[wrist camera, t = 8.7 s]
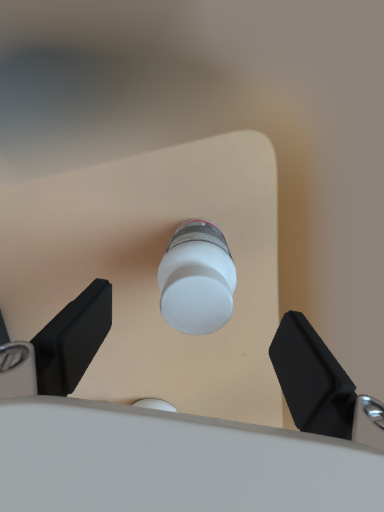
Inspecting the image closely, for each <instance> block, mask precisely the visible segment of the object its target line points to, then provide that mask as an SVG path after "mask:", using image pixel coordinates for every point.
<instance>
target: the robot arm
mask: <svg viewBox="0 0 384 512" xmlns="http://www.w3.org/2000/svg"><path fill="white" fill-rule="evenodd" d="M111 325H112V284H111V283H109V281H108V280H105V279H99V278H96V279H95V280H94V281H93V282H92V283H91V284H90V285H89V286H88V287H87V288H86V289H85V290H84V291H83V292H82V293H81V294H80V295H79V296H78V297H77V298H76V299H75V300H74V301H71V302H70V303H69V304H68V305H67V306H66V307H65V308H63V309H62V310H61V311H60V312H59V313H58V314H57V315H56V316H55V317H54V318H53V319H52V320H51V321H50V322H49V323H48V324H47V325H46V326H45V327H44V328H43V329H42V330H41V331H40V332H39V333H38V334H37V335H36V336H35V337H34V338H33V339H32V340H31V341H30V342H27V341H14V342H9V343H6V344H4V345H1V346H0V512H384V404H383V403H382V402H381V401H379V400H377V399H375V398H373V397H371V396H368V395H363V394H362V395H358V396H357V394H356V393H355V389H356V386H355V385H354V383H353V382H352V381H351V379H350V378H349V376H348V375H347V374H346V372H345V371H344V370H343V368H342V367H341V365H340V364H339V363H338V361H337V360H336V359H335V357H334V356H333V355H332V353H331V352H330V350H329V349H328V348H327V346H326V345H325V344H324V342H323V341H322V339H321V338H320V337H319V336H318V334H317V333H316V331H315V330H314V328H313V327H312V326H311V324H310V323H309V322H308V320H307V319H306V317H305V316H304V315H303V314H302V313H301V312H297V311H291V310H290V311H288V312H287V313H285V314H284V316H283V318H282V320H281V323H280V325H279V327H278V329H277V332H276V334H275V336H274V338H273V341H272V343H271V345H270V347H269V356H270V359H271V362H272V364H273V367H274V370H275V372H276V375H277V378H278V380H279V383H280V386H281V388H282V391H283V394H284V396H285V399H286V402H287V404H288V407H289V410H290V412H291V415H292V418H293V420H294V423H295V425H296V427H297V428H298V429H300V431H294V430H288V429H282V428H275V427H269V426H263V425H256V424H250V423H244V422H237V421H231V420H224V419H218V418H211V417H204V416H198V415H191V414H185V413H178V412H171V411H165V410H158V409H151V408H144V407H137V406H130V405H123V404H117V403H110V402H102V401H94V400H86V399H79V398H71V397H66V396H67V395H68V394H72V393H73V391H74V390H75V388H76V386H77V385H78V383H79V381H80V380H81V378H82V376H83V375H84V373H85V371H86V369H87V368H88V366H89V364H90V363H91V361H92V359H93V358H94V356H95V354H96V353H97V351H98V349H99V347H100V346H101V344H102V342H103V341H104V339H105V337H106V336H107V334H108V332H109V330H110V328H111Z"/></svg>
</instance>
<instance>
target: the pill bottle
mask: <svg viewBox="0 0 384 512" xmlns="http://www.w3.org/2000/svg"><path fill="white" fill-rule="evenodd" d="M157 279H158V286H159V289H160V292H161V294H162V295H161V299H160V309H161V313H162V315H163V317H164V319H165V320H166V322H167V323H168V324H169V325H170V326H171V327H173V328H174V329H176V330H178V331H180V332H182V333H185V334H189V335H206V334H210V333H213V332H215V331H217V330H219V329H220V328H222V327H223V326H224V325H225V324H226V323H227V322H228V320H229V319H230V317H231V315H232V311H233V300H232V295H233V293H234V290H235V287H236V280H237V275H236V269H235V265H234V262H233V259H232V257H231V254H230V251H229V249H228V246H227V243H226V240H225V237H224V235H223V233H222V232H221V230H220V229H219V228H218V227H217V226H216V225H215V224H213V223H212V222H210V221H207V220H204V219H192V220H189V221H186V222H184V223H183V224H181V225H180V226H179V227H178V228H177V229H176V230H175V232H174V233H173V236H172V238H171V240H170V242H169V245H168V247H167V250H166V252H165V254H164V256H163V258H162V261H161V263H160V266H159V269H158V275H157Z"/></svg>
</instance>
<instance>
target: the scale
mask: <svg viewBox="0 0 384 512" xmlns="http://www.w3.org/2000/svg"><path fill="white" fill-rule="evenodd" d="M9 342H10V341H9V337H8V334H7V331H6V328H5V324H4V321H3V318H2V314H1V311H0V346H1V345H4V344H6V343H9Z"/></svg>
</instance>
